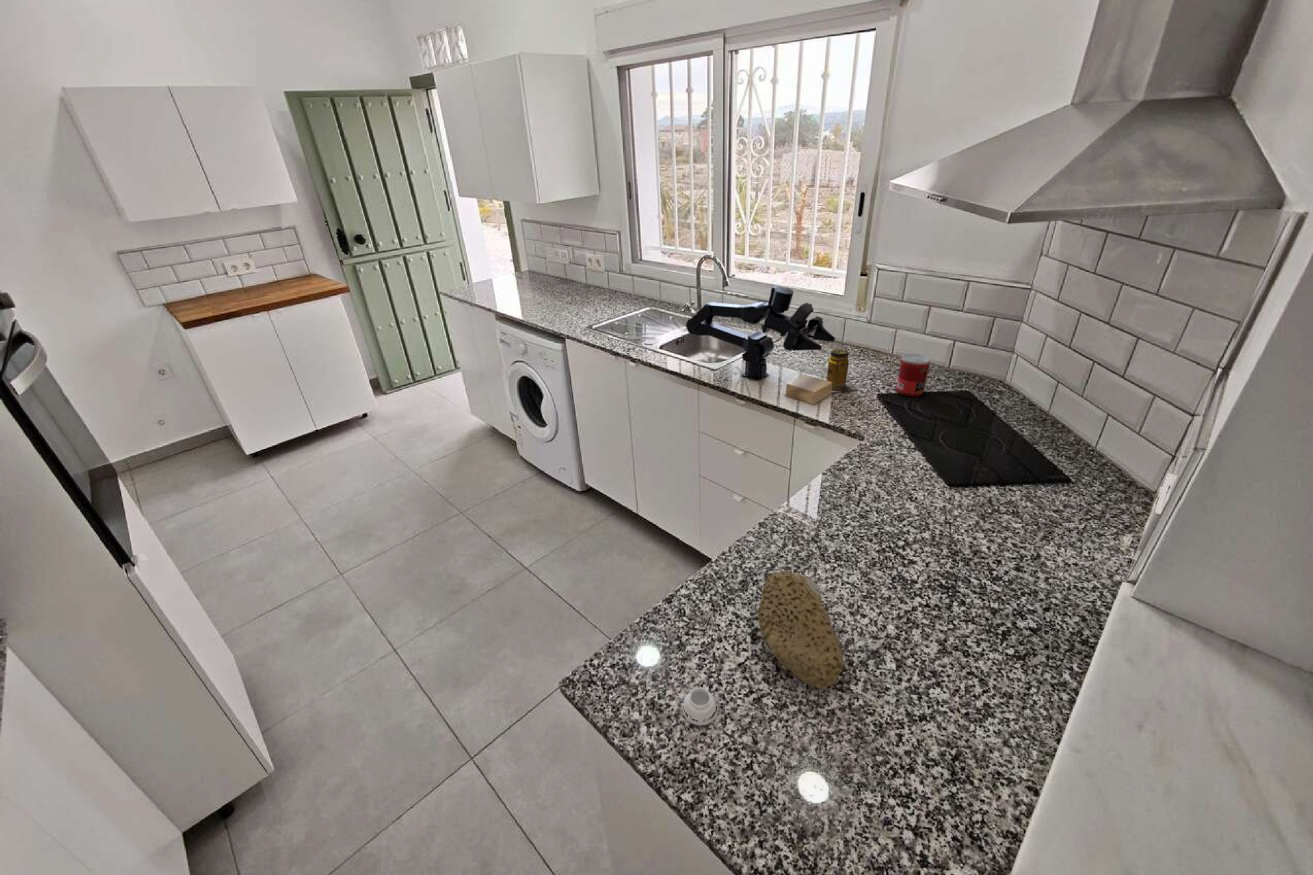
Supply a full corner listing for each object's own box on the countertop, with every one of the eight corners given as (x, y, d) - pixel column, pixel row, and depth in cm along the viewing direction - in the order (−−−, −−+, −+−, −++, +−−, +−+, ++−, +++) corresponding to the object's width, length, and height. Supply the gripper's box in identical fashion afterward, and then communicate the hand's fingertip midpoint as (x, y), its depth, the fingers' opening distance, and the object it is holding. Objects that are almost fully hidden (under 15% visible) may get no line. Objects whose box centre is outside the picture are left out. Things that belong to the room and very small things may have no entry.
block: (785, 395, 168) (786, 383, 166) (803, 385, 174) (804, 374, 172) (813, 404, 162) (815, 392, 160) (831, 394, 168) (832, 382, 166)
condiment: (820, 384, 174) (824, 349, 169) (845, 381, 175) (850, 346, 170) (830, 393, 168) (835, 356, 162) (856, 390, 169) (861, 354, 163)
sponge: (757, 596, 96) (745, 673, 78) (769, 559, 94) (759, 629, 75) (831, 620, 94) (837, 705, 75) (845, 583, 91) (854, 661, 73)
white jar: (724, 716, 75) (705, 688, 79) (725, 702, 74) (705, 675, 78) (694, 733, 73) (675, 704, 77) (694, 719, 72) (675, 691, 76)
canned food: (919, 398, 162) (927, 364, 157) (892, 393, 166) (898, 359, 161) (926, 390, 167) (933, 356, 162) (899, 384, 172) (905, 351, 166)
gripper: (775, 307, 158) (822, 327, 150) (805, 293, 170) (850, 311, 163) (765, 341, 164) (810, 362, 157) (794, 325, 176) (837, 344, 169)
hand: (828, 344), depth 161 cm, fingers open, 9 cm apart
